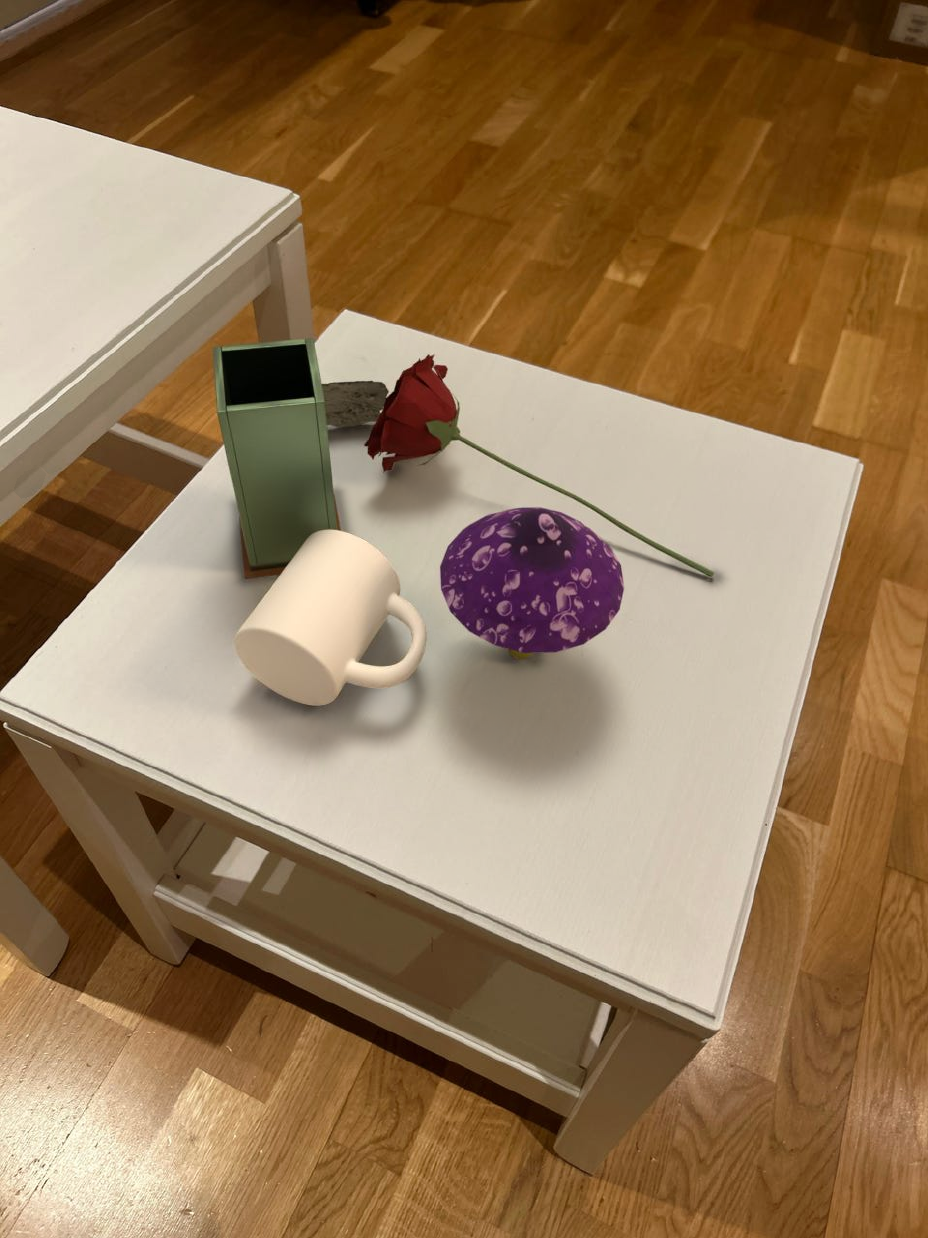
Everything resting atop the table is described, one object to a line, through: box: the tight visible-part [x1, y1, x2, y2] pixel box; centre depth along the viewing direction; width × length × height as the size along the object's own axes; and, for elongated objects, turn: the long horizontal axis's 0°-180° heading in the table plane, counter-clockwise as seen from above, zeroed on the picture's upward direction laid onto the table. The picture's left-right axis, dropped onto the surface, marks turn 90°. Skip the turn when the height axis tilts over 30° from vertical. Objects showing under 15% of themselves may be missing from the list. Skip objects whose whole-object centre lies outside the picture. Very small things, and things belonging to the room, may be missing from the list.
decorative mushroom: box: [439, 506, 625, 660], centre depth 64 cm, size 12×12×15 cm
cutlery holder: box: [212, 337, 337, 571], centre depth 70 cm, size 7×7×16 cm
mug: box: [234, 530, 427, 707], centre depth 66 cm, size 12×10×8 cm
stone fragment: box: [322, 380, 390, 428], centre depth 82 cm, size 10×1×5 cm, turn 102°
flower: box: [363, 353, 715, 578], centre depth 77 cm, size 11×10×30 cm
